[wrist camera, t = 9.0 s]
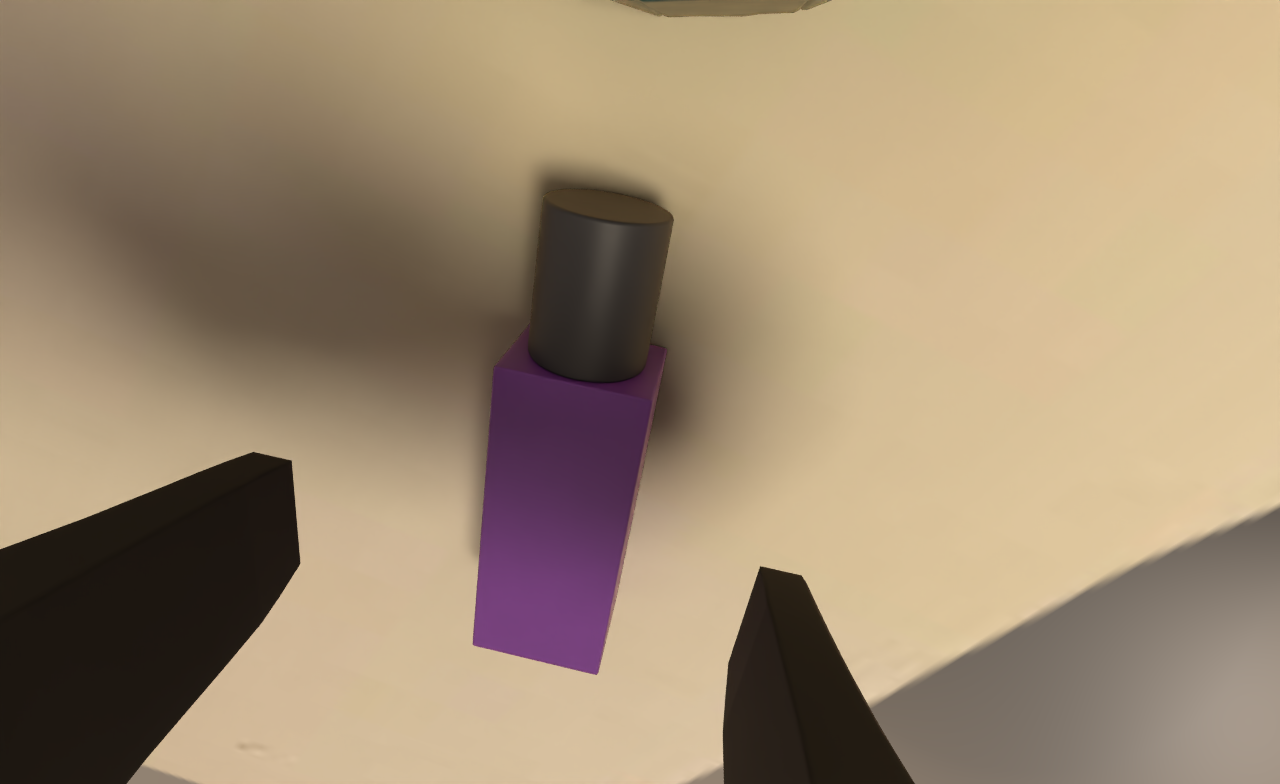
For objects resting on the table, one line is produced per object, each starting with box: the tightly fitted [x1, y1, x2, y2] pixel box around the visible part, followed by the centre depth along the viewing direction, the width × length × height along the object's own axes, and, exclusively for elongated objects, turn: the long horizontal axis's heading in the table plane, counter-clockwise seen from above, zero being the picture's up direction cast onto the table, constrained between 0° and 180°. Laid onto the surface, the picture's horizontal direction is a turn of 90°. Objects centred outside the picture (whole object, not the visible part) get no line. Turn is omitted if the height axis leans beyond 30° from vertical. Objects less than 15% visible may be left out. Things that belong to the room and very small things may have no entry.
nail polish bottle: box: [473, 189, 674, 675], centre depth 13 cm, size 10×3×2 cm, turn 170°
